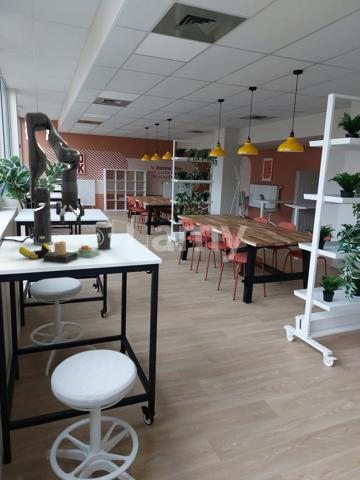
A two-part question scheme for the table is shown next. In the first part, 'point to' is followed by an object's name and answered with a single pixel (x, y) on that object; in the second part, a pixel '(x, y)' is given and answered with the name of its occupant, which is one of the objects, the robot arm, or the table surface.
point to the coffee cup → (103, 235)
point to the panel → (60, 257)
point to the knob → (60, 248)
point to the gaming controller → (35, 252)
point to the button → (84, 247)
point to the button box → (86, 253)
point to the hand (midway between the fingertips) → (70, 224)
